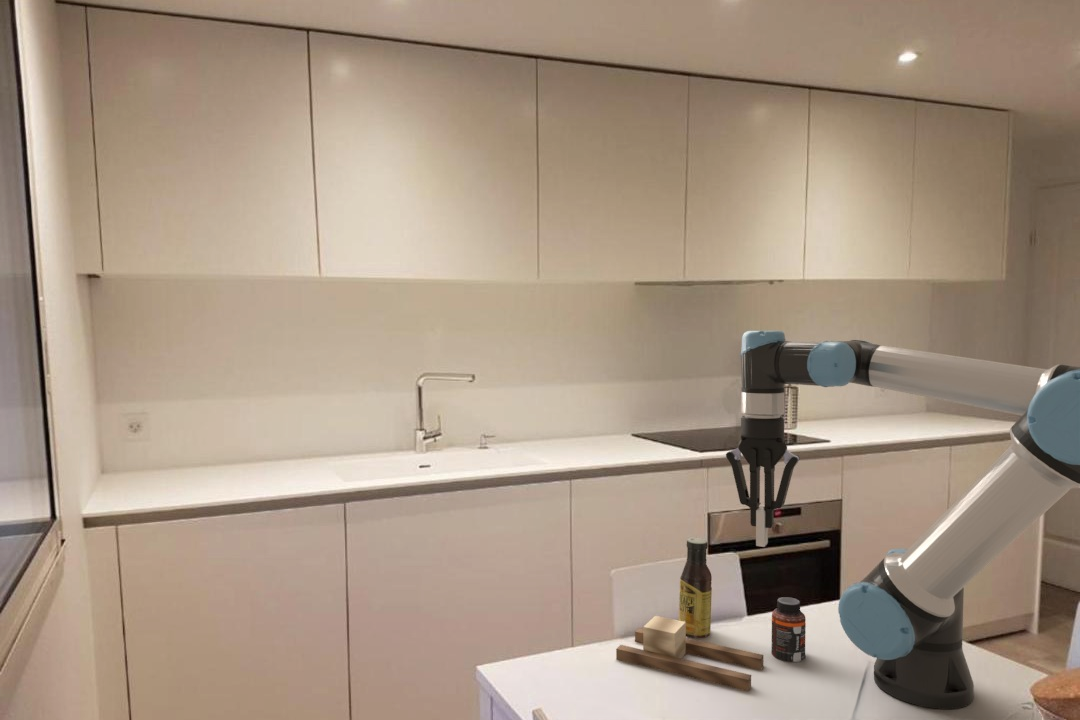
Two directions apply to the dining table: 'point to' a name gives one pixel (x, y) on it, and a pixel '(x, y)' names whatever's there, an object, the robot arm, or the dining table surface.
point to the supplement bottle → (788, 631)
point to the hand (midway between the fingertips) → (761, 544)
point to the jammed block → (665, 636)
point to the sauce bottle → (696, 590)
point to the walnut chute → (695, 668)
